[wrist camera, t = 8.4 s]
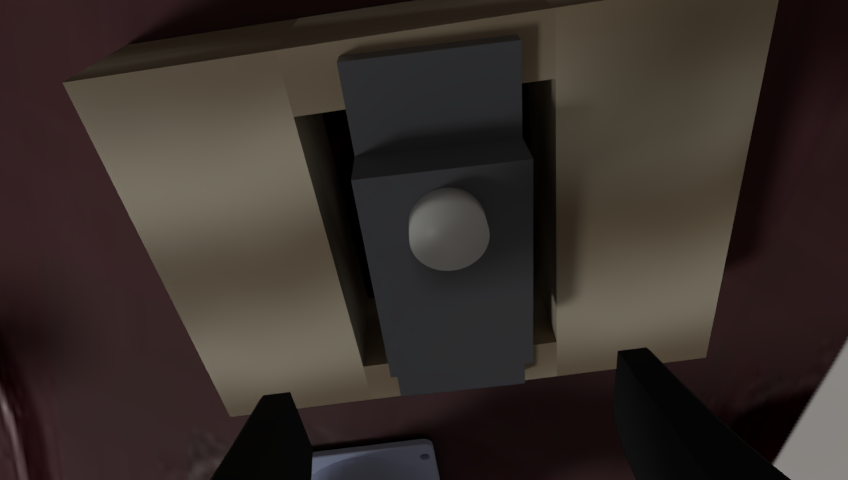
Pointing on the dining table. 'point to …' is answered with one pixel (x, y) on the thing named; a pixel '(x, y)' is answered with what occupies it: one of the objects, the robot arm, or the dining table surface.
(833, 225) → the dining table surface
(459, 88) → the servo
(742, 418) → the dining table surface
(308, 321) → the tan slotted block
